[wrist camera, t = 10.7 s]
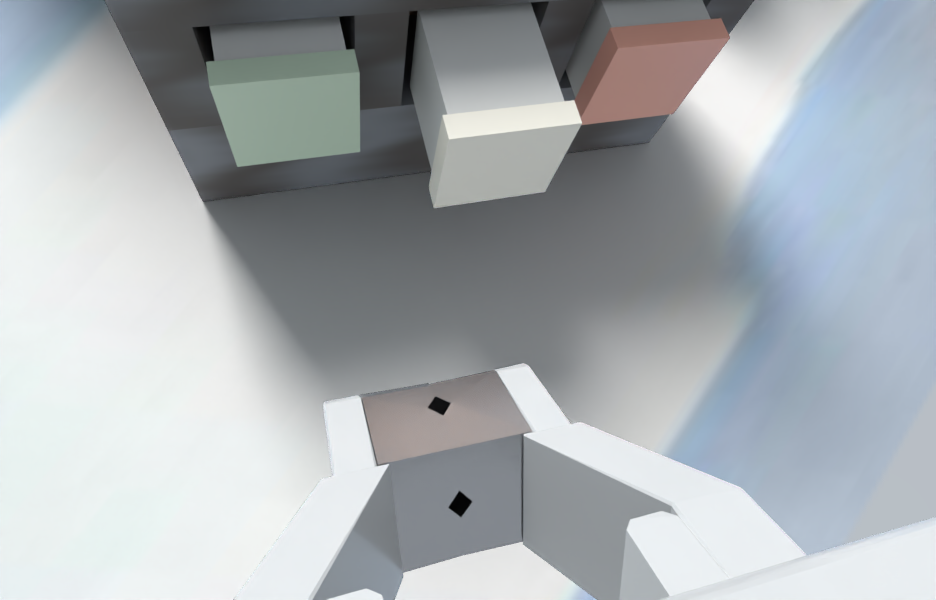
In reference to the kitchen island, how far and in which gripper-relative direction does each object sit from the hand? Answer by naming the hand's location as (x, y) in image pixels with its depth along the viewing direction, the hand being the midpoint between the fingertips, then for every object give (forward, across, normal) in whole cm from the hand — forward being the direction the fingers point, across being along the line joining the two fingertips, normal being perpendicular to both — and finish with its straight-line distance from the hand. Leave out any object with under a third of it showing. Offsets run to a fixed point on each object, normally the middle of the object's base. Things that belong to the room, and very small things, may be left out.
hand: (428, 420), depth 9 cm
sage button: (+16, -1, +3) cm, 16 cm away
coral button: (+16, +11, +3) cm, 19 cm away
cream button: (+14, +5, +1) cm, 15 cm away
